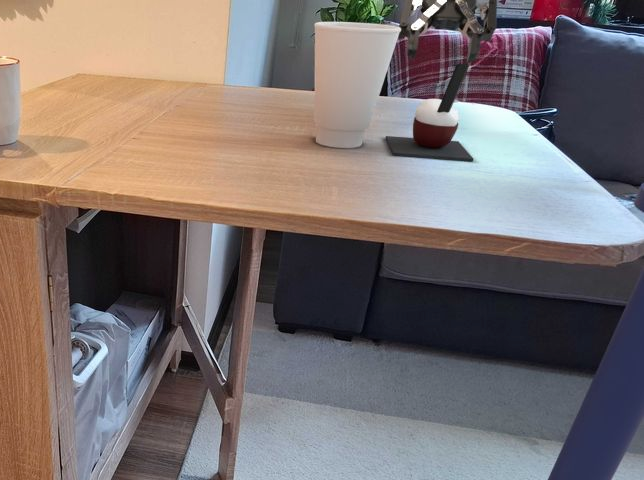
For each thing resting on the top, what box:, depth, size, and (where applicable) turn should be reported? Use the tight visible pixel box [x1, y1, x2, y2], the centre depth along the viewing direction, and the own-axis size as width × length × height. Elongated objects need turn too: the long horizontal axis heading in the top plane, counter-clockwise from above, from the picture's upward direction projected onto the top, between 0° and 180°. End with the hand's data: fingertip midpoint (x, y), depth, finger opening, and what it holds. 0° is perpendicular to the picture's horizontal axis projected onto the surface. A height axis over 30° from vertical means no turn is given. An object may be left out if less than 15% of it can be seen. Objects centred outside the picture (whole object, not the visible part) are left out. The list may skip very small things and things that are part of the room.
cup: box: [313, 21, 401, 149], centre depth 92 cm, size 12×12×16 cm
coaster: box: [385, 135, 474, 162], centre depth 94 cm, size 11×11×1 cm
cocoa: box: [412, 62, 470, 149], centre depth 91 cm, size 10×6×12 cm, turn 154°
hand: (441, 57), depth 98 cm, fingers open, 8 cm apart
